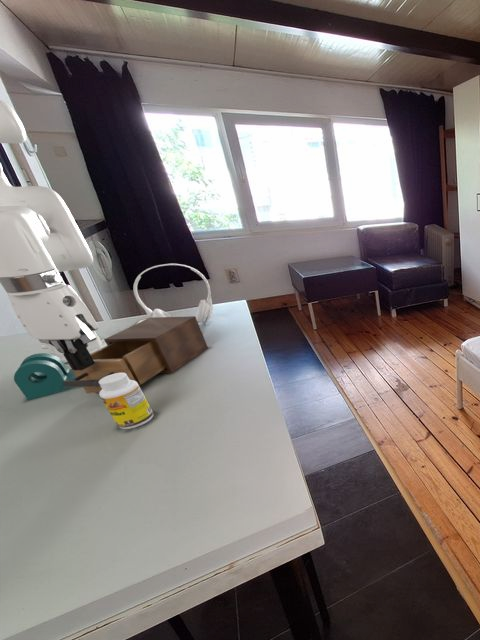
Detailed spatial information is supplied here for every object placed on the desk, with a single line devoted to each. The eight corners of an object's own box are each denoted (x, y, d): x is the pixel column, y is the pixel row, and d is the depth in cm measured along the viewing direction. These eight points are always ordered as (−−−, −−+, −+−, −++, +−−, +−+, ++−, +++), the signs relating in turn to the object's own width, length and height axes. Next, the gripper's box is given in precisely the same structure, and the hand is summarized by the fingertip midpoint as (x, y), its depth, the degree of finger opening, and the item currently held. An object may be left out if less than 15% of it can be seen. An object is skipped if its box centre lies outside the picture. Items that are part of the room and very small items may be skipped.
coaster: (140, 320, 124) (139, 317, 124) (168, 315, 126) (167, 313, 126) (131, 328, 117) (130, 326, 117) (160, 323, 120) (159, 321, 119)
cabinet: (172, 373, 90) (155, 337, 85) (123, 374, 90) (103, 339, 86) (208, 348, 102) (195, 316, 97) (164, 349, 102) (149, 317, 98)
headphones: (223, 322, 119) (200, 261, 110) (153, 338, 109) (122, 273, 100) (220, 316, 124) (198, 257, 115) (153, 331, 115) (124, 268, 105)
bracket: (28, 400, 81) (6, 369, 77) (34, 388, 86) (14, 358, 82) (131, 372, 91) (116, 343, 87) (131, 362, 96) (117, 335, 92)
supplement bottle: (112, 428, 71) (84, 383, 66) (142, 411, 75) (118, 368, 71) (132, 432, 69) (105, 387, 64) (161, 415, 74) (138, 371, 69)
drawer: (116, 404, 76) (98, 372, 73) (65, 405, 77) (43, 373, 73) (176, 364, 92) (163, 336, 88) (133, 365, 92) (118, 337, 89)
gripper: (91, 275, 70) (134, 357, 79) (17, 276, 71) (67, 358, 80) (51, 287, 64) (102, 376, 72) (-30, 288, 64) (30, 376, 73)
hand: (84, 366), depth 76 cm, fingers closed
